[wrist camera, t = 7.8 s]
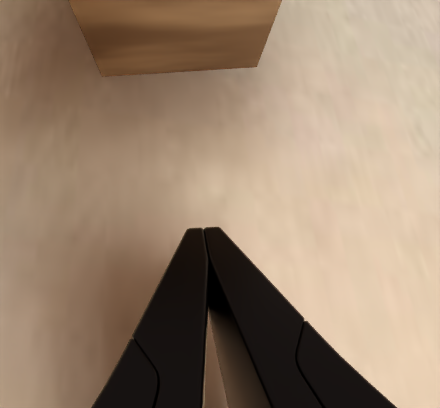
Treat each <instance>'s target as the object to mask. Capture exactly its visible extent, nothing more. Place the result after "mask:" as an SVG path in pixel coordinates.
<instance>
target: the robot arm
mask: <svg viewBox="0 0 440 408" xmlns="http://www.w3.org/2000/svg"><path fill="white" fill-rule="evenodd" d="M208 312H209V318H210V323H211V327H212V332H213V337H214V341H215V346H216V351H217V355H218V360H219V365H220V369H221V374H222V379H223V383H224V388H225V393H226V397H227V402H228V407H229V408H397V407H396V406H395V405H393V404H392V403H391V402H390V401H389V400H388V399H387V398H386V397H385V396H383V395H382V394H381V393H380V392H379V391H378V390H377V389H376V388H375V387H373V386H372V385H371V384H370V383H369V382H368V381H367V380H366V379H365V378H364V377H362V376H361V375H360V374H359V373H358V372H357V371H356V370H355V369H354V368H353V367H352V366H351V365H350V364H349V363H348V362H346V361H345V360H344V359H343V358H342V357H341V356H340V355H339V354H338V353H337V352H336V351H335V350H334V349H333V348H332V347H331V346H330V345H329V344H328V343H327V342H326V341H325V340H324V339H323V337H322V336H321V335H320V334H319V333H318V332H317V331H316V330H315V329H314V328H313V327H312V326H311V325H310V324H309V323H308V321H304V317H303V316H302V315H301V314H300V313H299V312H298V311H297V310H296V309H295V308H294V307H293V306H292V304H291V303H290V302H289V301H288V300H287V299H286V298H285V297H284V296H283V295H282V294H281V293H280V292H279V290H278V289H277V288H276V287H275V286H274V285H273V284H272V283H271V282H270V281H269V280H268V279H267V278H266V276H265V275H264V274H263V273H262V272H261V271H260V270H259V269H258V268H257V267H256V266H255V265H254V264H253V263H252V261H251V260H250V259H249V258H248V257H247V256H246V255H245V254H244V253H243V252H242V251H241V250H240V249H239V247H238V246H237V245H236V244H235V243H234V242H233V241H232V240H231V239H230V238H229V237H228V236H227V235H226V233H225V232H224V231H223V230H222V229H221V228H220V227H206V228H204V230H203V229H202V228H189V229H187V230H186V232H185V234H184V236H183V238H182V240H181V242H180V244H179V246H178V248H177V250H176V252H175V253H174V255H173V257H172V259H171V261H170V263H169V265H168V267H167V269H166V271H165V273H164V275H163V277H162V279H161V281H160V283H159V284H158V286H157V288H156V290H155V292H154V294H153V296H152V298H151V300H150V302H149V304H148V306H147V308H146V310H145V312H144V314H143V315H142V317H141V319H140V321H139V323H138V325H137V327H136V329H135V331H134V333H133V335H132V339H130V340H129V342H128V344H127V346H126V348H125V350H124V352H123V354H122V356H121V358H120V359H119V361H118V363H117V365H116V367H115V369H114V370H113V372H112V374H111V376H110V378H109V379H108V381H107V383H106V385H105V386H104V388H103V390H102V391H101V393H100V394H99V396H98V398H97V399H96V401H95V402H94V404H93V406H92V407H91V408H204V403H205V376H206V350H207V324H208Z"/></svg>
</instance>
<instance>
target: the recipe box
mask: <svg viewBox="0 0 440 408" xmlns="http://www.w3.org/2000/svg"><path fill="white" fill-rule="evenodd" d="M68 1H69V3H70V5H71V7H72V10H73V12H74V14H75V16H76V19H77V21H78V23H79V25H80V28H81V30H82V32H83V34H84V37H85V39H86V41H87V43H88V46H89V48H90V50H91V52H92V55H93V57H94V59H95V61H96V64H97V66H98V68H99V70H100V73H101V75H102V77H104V76H120V75H136V74H152V73H168V72H184V71H200V70H217V69H233V68H249V67H257V65H258V62H259V59H260V57H261V54H262V52H263V49H264V46H265V44H266V41H267V38H268V36H269V33H270V30H271V28H272V25H273V23H274V20H275V17H276V15H277V12H278V9H279V7H280V4H281V2H282V0H68Z"/></svg>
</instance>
